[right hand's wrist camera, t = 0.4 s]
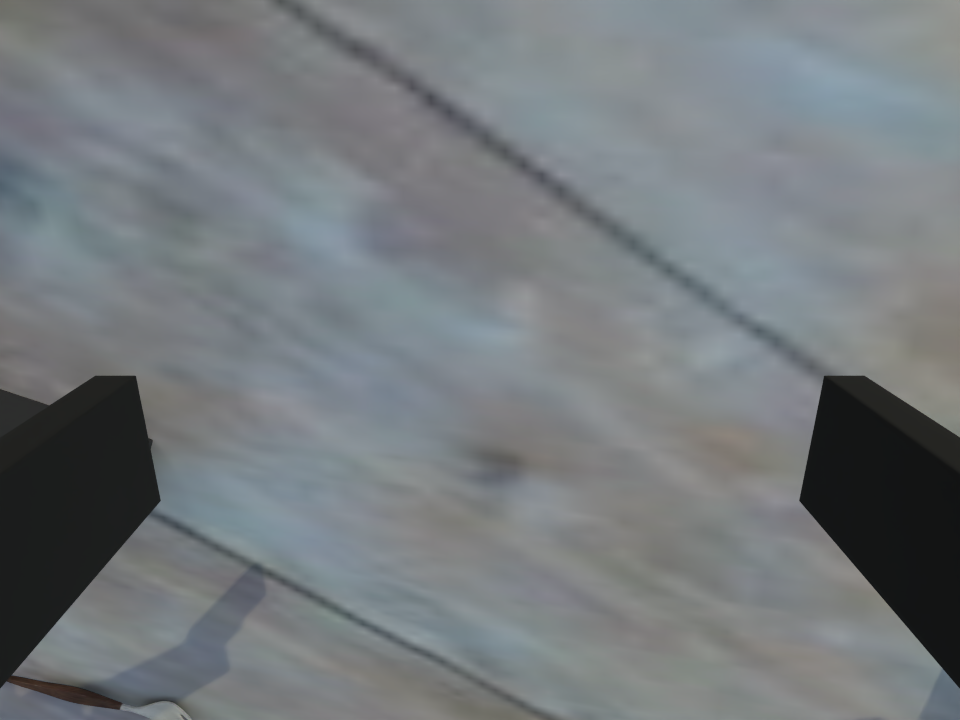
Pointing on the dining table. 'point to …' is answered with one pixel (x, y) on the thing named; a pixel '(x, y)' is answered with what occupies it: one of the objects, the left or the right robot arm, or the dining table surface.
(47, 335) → the dining table surface
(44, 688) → the fork
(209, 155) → the dining table surface
